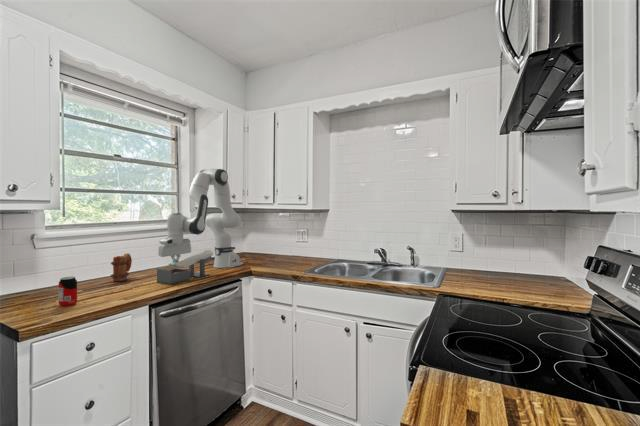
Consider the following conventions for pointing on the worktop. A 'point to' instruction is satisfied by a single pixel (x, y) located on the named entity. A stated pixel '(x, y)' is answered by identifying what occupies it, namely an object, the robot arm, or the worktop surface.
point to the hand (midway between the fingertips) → (175, 262)
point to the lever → (194, 259)
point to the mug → (121, 267)
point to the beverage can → (67, 291)
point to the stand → (202, 270)
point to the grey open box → (172, 276)
